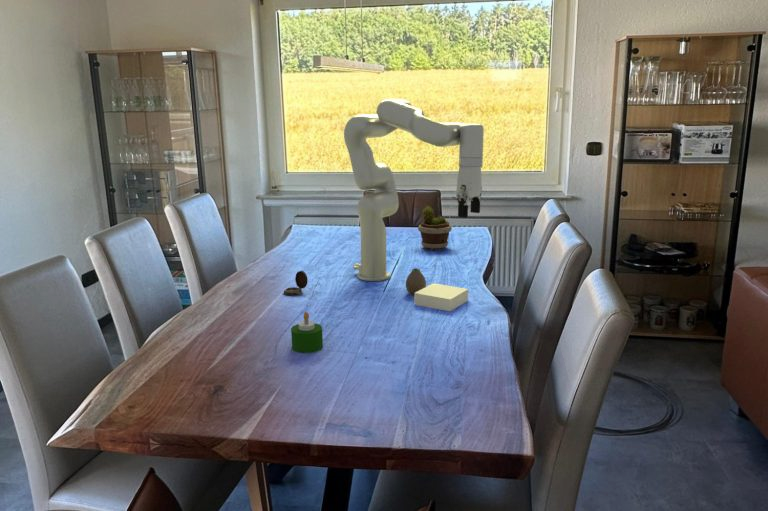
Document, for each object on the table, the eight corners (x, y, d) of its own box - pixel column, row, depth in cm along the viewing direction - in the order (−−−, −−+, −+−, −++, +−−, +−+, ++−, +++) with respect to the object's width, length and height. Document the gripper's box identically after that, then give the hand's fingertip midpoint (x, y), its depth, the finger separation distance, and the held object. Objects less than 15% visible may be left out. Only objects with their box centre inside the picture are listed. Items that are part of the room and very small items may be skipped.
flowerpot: (456, 246, 283) (457, 203, 278) (441, 253, 271) (441, 208, 266) (428, 243, 291) (429, 200, 286) (412, 249, 278) (412, 205, 273)
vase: (424, 297, 210) (424, 272, 208) (404, 296, 212) (404, 271, 210) (427, 291, 217) (427, 267, 215) (407, 290, 218) (407, 266, 216)
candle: (309, 355, 163) (308, 319, 160) (285, 349, 167) (283, 313, 165) (328, 345, 170) (327, 310, 167) (305, 339, 174) (303, 305, 171)
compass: (280, 293, 216) (279, 273, 214) (298, 288, 221) (297, 268, 220) (293, 298, 211) (293, 277, 209) (312, 293, 216) (311, 273, 214)
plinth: (414, 304, 203) (414, 292, 202) (433, 294, 213) (433, 283, 213) (450, 311, 196) (450, 299, 195) (467, 300, 207) (468, 289, 206)
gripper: (471, 159, 210) (469, 210, 214) (448, 164, 196) (447, 217, 200) (491, 161, 206) (489, 212, 211) (470, 165, 192) (468, 220, 196)
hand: (469, 214), depth 205 cm, fingers open, 9 cm apart
